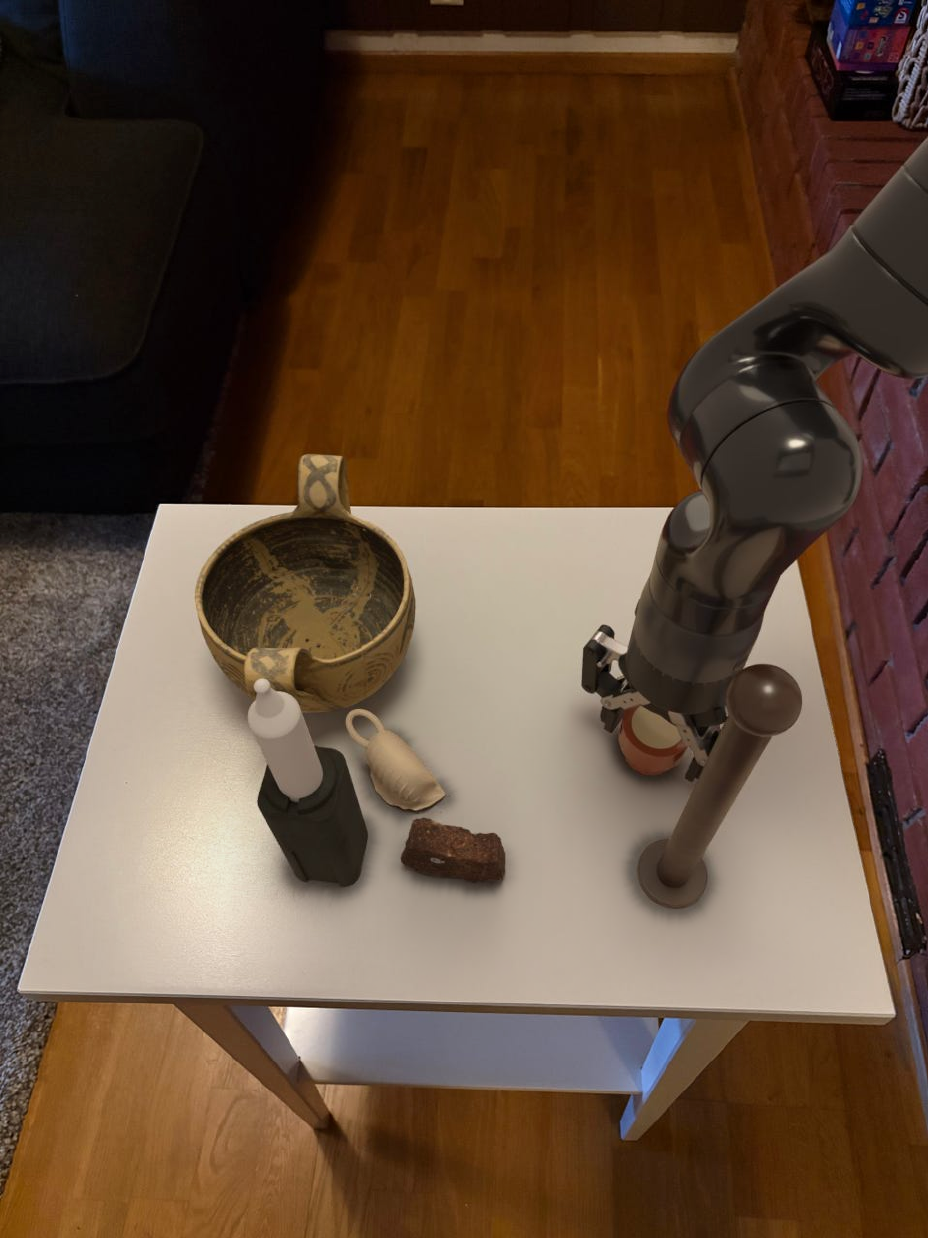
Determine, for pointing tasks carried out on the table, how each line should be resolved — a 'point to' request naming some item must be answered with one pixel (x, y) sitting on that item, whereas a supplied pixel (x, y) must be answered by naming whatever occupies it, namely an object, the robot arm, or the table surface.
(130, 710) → the table surface
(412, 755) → the decorative ornament
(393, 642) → the ceramic bowl
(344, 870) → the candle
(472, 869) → the stone
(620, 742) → the terracotta bowl
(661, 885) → the walnut post
